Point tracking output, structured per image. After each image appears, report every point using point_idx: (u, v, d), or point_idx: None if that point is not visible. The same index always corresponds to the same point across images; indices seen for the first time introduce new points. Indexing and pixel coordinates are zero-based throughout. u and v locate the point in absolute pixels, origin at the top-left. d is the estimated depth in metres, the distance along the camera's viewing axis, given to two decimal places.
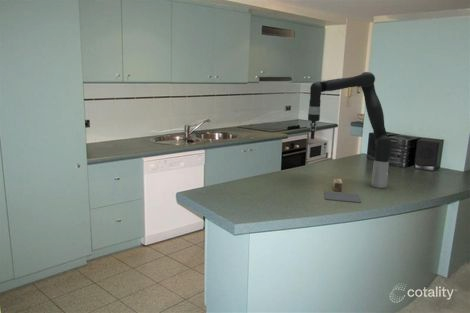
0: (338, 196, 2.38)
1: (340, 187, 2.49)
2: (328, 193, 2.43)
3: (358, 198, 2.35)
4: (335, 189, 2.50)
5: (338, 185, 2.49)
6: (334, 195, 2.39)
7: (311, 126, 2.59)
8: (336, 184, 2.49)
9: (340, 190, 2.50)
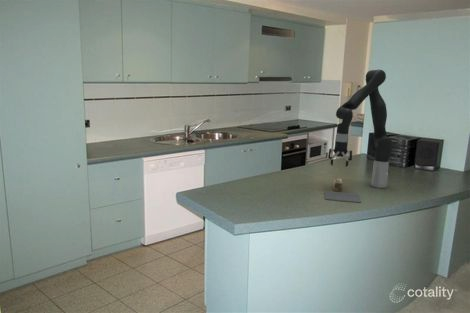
0: (338, 196, 2.38)
1: (340, 187, 2.49)
2: (328, 193, 2.43)
3: (358, 198, 2.35)
4: (335, 189, 2.50)
5: (338, 185, 2.49)
6: (334, 195, 2.39)
7: (351, 154, 2.49)
8: (336, 184, 2.49)
9: (340, 190, 2.50)
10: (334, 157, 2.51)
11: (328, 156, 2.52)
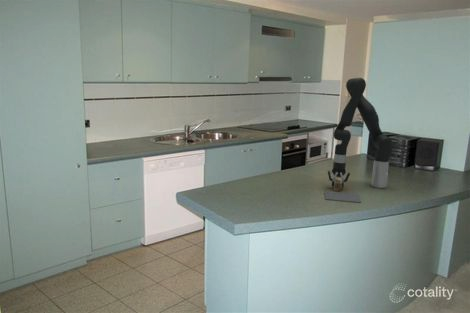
0: (338, 196, 2.38)
1: (340, 187, 2.49)
2: (328, 193, 2.43)
3: (358, 198, 2.35)
4: (335, 189, 2.50)
5: (338, 185, 2.49)
6: (334, 195, 2.39)
7: (348, 176, 2.52)
8: (336, 184, 2.49)
9: (340, 190, 2.50)
10: None
11: (329, 178, 2.54)
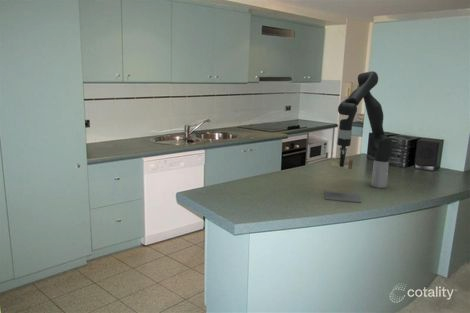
0: (338, 196, 2.38)
1: None
2: (328, 193, 2.43)
3: (358, 198, 2.35)
4: (351, 166, 2.37)
5: None
6: (334, 195, 2.39)
7: None
8: (352, 161, 2.37)
9: None
10: (344, 157, 2.36)
11: (344, 158, 2.33)
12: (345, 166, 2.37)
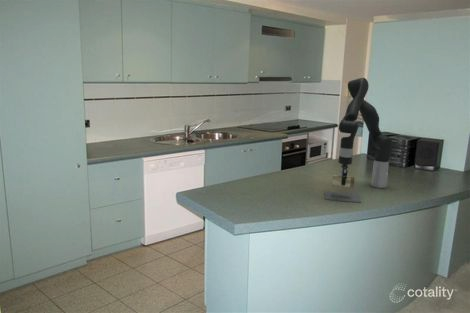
0: (338, 196, 2.38)
1: None
2: (328, 193, 2.43)
3: (358, 198, 2.35)
4: (353, 185, 2.34)
5: (354, 179, 2.35)
6: (334, 195, 2.39)
7: None
8: (354, 179, 2.34)
9: None
10: (346, 175, 2.33)
11: (346, 176, 2.30)
12: (347, 184, 2.34)
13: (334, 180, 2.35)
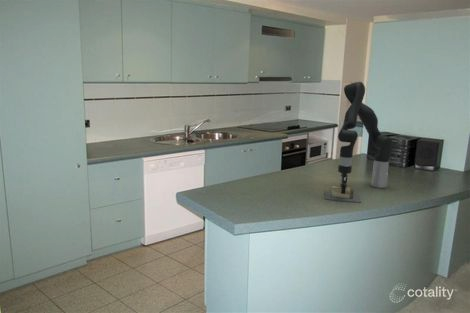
0: None
1: None
2: (328, 193, 2.43)
3: (358, 198, 2.35)
4: None
5: None
6: None
7: None
8: (353, 190, 2.35)
9: None
10: None
11: None
12: (346, 196, 2.35)
13: (333, 191, 2.36)
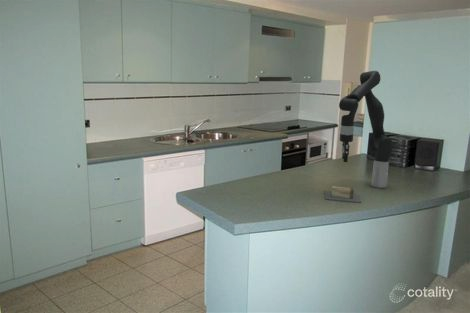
0: None
1: None
2: (328, 193, 2.43)
3: (358, 198, 2.35)
4: None
5: None
6: None
7: None
8: (353, 190, 2.35)
9: None
10: None
11: (348, 153, 2.31)
12: (346, 196, 2.35)
13: (333, 191, 2.36)
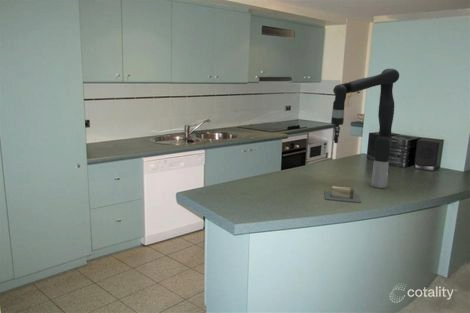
0: None
1: None
2: (328, 193, 2.43)
3: (358, 198, 2.35)
4: None
5: None
6: None
7: None
8: (353, 190, 2.35)
9: None
10: (338, 134, 2.55)
11: (338, 134, 2.52)
12: (346, 196, 2.35)
13: (333, 191, 2.36)
